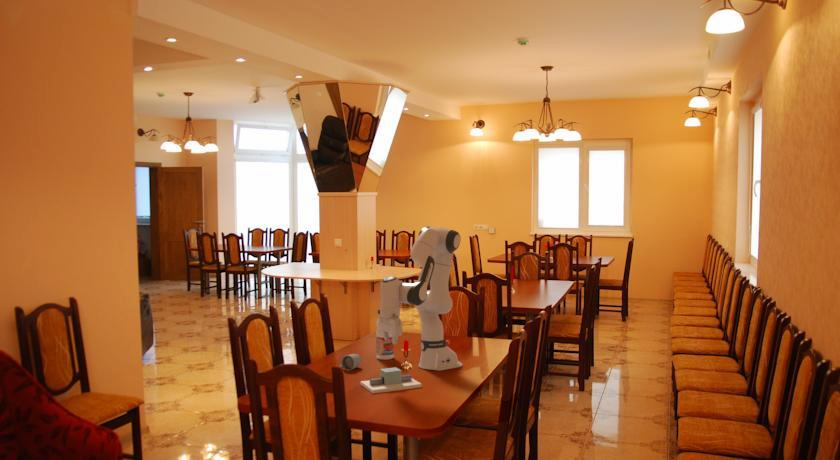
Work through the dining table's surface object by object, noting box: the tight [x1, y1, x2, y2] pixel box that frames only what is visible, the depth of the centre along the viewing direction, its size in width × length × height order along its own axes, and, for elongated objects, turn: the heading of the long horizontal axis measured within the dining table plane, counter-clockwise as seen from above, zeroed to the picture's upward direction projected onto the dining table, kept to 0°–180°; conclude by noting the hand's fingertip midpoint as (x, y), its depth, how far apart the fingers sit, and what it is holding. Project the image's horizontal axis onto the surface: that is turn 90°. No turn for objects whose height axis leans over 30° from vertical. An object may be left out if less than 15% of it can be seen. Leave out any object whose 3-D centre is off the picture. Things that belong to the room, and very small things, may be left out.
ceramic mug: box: [338, 353, 362, 372], centre depth 346 cm, size 11×8×8 cm
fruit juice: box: [375, 306, 395, 361], centre depth 368 cm, size 9×9×28 cm
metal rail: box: [369, 373, 413, 386], centre depth 314 cm, size 20×2×2 cm, turn 115°
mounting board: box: [359, 378, 423, 394], centre depth 314 cm, size 24×16×2 cm, turn 115°
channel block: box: [379, 366, 403, 385], centre depth 314 cm, size 8×6×6 cm
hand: (390, 342), depth 315 cm, fingers open, 8 cm apart
